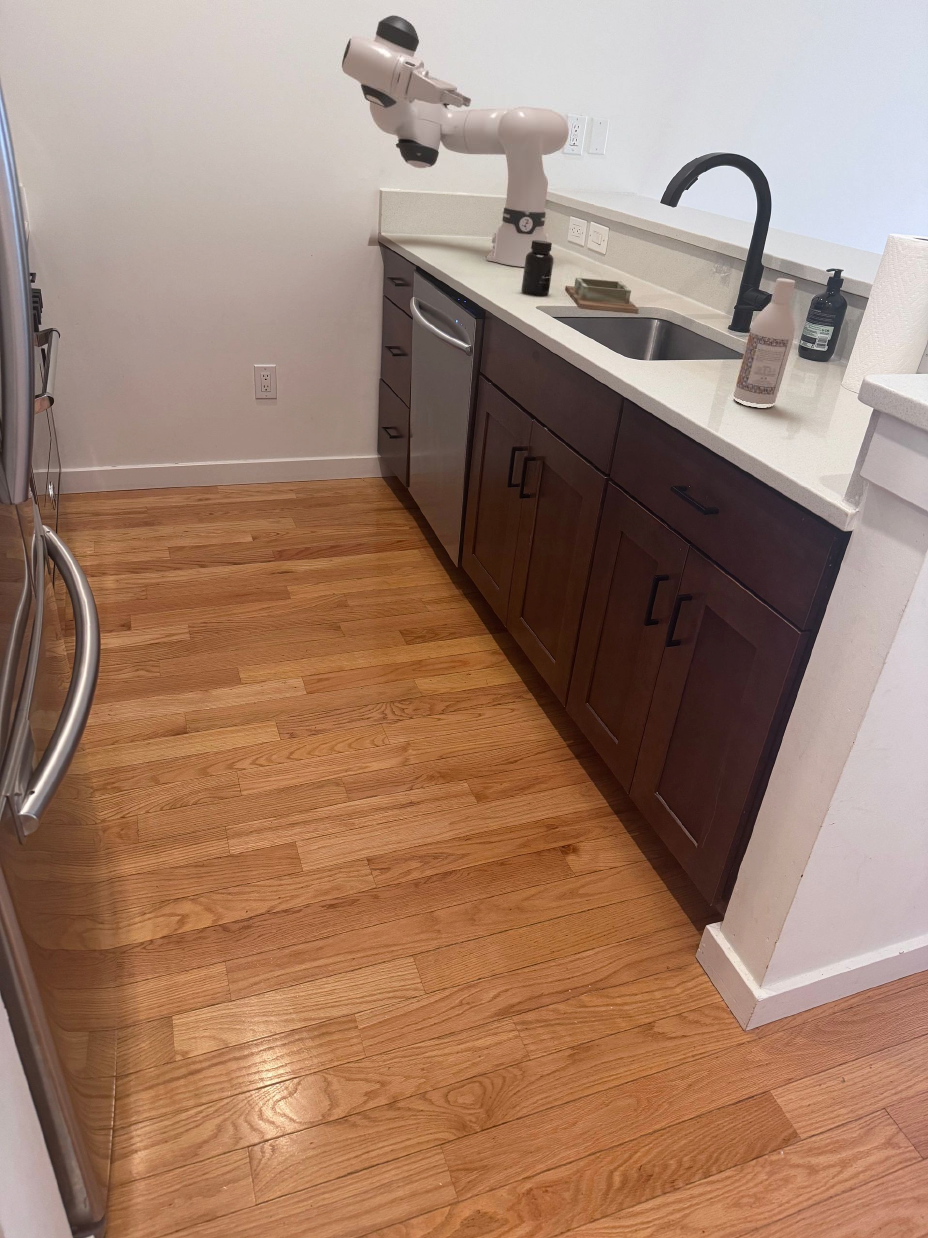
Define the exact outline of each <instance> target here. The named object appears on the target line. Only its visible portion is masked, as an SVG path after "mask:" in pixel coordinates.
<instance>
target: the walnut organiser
mask: <svg viewBox="0 0 928 1238" xmlns="http://www.w3.org/2000/svg"><path fill="white" fill-rule="evenodd" d="M564 288H565V289H564V290H565V291H566V293H567V294H568V295H569V297H570V298H571V299H572V300H573V302H574V303H575V304H576V305H577V306H578V308H579V309H584V310H593V311H594V310H595V311H608V312H617V313H618V312H619V313H628V314H629V313H630V314H639V310H640V309H639V308H638V307H637V306H636V305H635V304H634V303H633V302H632V301H631V299H630V298H631V294H632V290H631V289H630V288H628V287H627V286H626V285H625V284H624V283H623V282H622V281H616V280H609V279H608V280H607V279H597V278H596V279H594V278H584V277H575V279H574V286H573V285H565V287H564Z"/></svg>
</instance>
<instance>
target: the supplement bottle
mask: <svg viewBox="0 0 928 1238" xmlns="http://www.w3.org/2000/svg"><path fill="white" fill-rule="evenodd" d="M552 245H553V243H552V242H551V241H548V242H547V241H541V240H533V241H532V246H531V249H532V251H531V252H529V253H528V254H527V255H526V259H525V267H523V269H524V270H523V276H522V283H521V293H523V294H524V295H529V296H532V295H533V296H534V297H547V296H548V295H549V292H550V287H551V281H552V274H553V267H554V261H555V260H554V257H553V255H552V254H550V253H551V252H552Z"/></svg>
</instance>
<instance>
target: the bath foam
mask: <svg viewBox="0 0 928 1238" xmlns="http://www.w3.org/2000/svg"><path fill="white" fill-rule="evenodd" d="M795 285H796V281H795V280H793V279H789V278H783V277H780V278H777V279H776V281H775V284H774V287H773V292H772V295H771V300H770V302H769V303H768V304H767V305H766V306H765V307H764V308H762V310H761V311H760V312H759V313H758V315H757V316H756V317H755V319H754V320H753V323H752V325H751V327H750V330H749V333H748V337H747V341H746V345H745V348H744V349H745V350H744V353H743V357H742V361H741V364H740V368H739V372H738V375H737V376H738V377H737V380H736V385H735V389H734V393H733V396H734V397H735V398H737V399H740V400H742V401H746V402H750V403H756V404H773V403H775V404H776V400H777V397H778V393H779V390H780V387H781V384H782V380H783V376H784V374H785V369H786V366H787V363H788V359H789V356H790V351H791V348H792V345H793V341H794V336H795V330H796V329H795V327H796V325H795V320H794V319H795V318H794V316H793V313H792V309H791V306H790V304H791V300H792V297H793V292H794V288H795Z"/></svg>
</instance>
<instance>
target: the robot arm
mask: <svg viewBox="0 0 928 1238" xmlns="http://www.w3.org/2000/svg"><path fill="white" fill-rule="evenodd" d="M419 43H420V39H419V36H418V33H417V30H416V29H415V26H414V25H413V24H412V23H411V22H409V21H408V20H407V19H405V18H403V17H401V16H398V15H393V14H392V15H389V16H386V17H384V18H383V19H381V20H380V21H378V24H377V28H376V32H375V38H374V40H371V39H368V38H366V37H365V38H364V37H361V36H360V37H359V36H356V35H354V36H353V35H352V37H351V38H349V40H348V42H347V43H346V45H345V46H346V47H345V50H344V54H343V57H342V58H343V59H342V62H341V69H342V71H343V73H344V74H345V75H347V76H348V77H351V78H352V79H354V80H355V81H357V82H359V84H360V87H361V88H360V89H361V91H362V95H363V96H364V99H365V100H366V101H368V102H369V110H370V115H371V117H372V119H373V121H374V124H376V126H377V127H378V128H379V129H380V130H381V131H382V132H384V133H385V134H389V135H393V136H396V137H397V143H396V144H395V147H396V148H397V149H398V150H399V152H400V155H401V157H402V158H403V161H405V162H406V164H408V165H410V166H412V167H414V168H417V169H426V168H431V167H433V166H434V165H436V163H437V161H438V158H439V154H440V151H439V149H440V145H442V146H443V147H444V148H445V149H447V150H448V151H451V152H454V153H458V154H465V155H500V156H501V155H502V156H503V155H504V156H505V157H506V165H507V167H506V168H507V188H506V198H505V199H506V201H505V207H503V211H502V218H501V220H502V223H501V225H500V226H499V227H498V229H496V232H494V234H493V235H492V239H491V243H492V244H493V245H492V250H491V251H490V252H489V253H488V254H487V256H486V258H485V259H486V260H485V261H489V262H495V263H499V264H502V265H507V266H513V267H522V268H524V267H525V259H526V255H527V254H528V253H529V252H531V251H532V249H531V246H532V241H533V240H541V241H547V242H549V241H548V239H549V235H548V233H547V232H546V230H545V228H544V226H545V225H546V224H545V223H546V219H547V218H546V211H545V208H546V203H547V202H546V201H547V193H548V186H549V180H548V177H547V175H546V173H545V171H544V163H543V156H548V155H551V154H555V153H557V152H558V151H560V150H562V149H563V147H564V146H565V145H566V143H567V142H568V140H569V139H568V138H569V129H570V128H569V124H568V122H567V120H566V118H565V117H564V116H562V115H561V114H559V113H558V112H557V111H554V110H553V109H548V108H539V107H529V106H519V107H518V106H517V107H516V108H515V107H514V108H513V109H512V108H511V109H510V108H491V109H490V108H487V109H486V108H485V109H484V108H483V109H467V110H466V109H465V110H452V109H450V108H448V107H449V106H454V107H455V108H456V107H457V108H462V107H463V106H464V107H467V108H468V107H470V106H471V103H472V98H470V97H468V96H466V95H464V94H462V93H460V92H459V91H458V86H456V85H454V84H452V83H449V82H447V81H445V80H442V79H440V78H437V77H434V76H432V75H430V72H429V70H428V69H426V68H425V63H424V61H423V60H421V59H418V58H416V57H414V55H415V53H416V51H417V49H418V46H419Z"/></svg>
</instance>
